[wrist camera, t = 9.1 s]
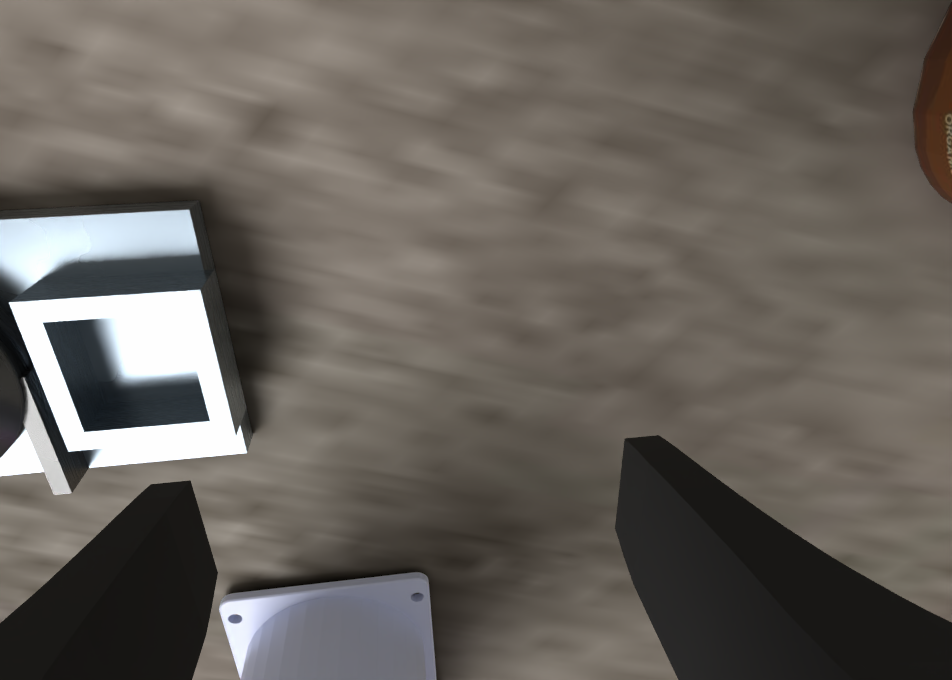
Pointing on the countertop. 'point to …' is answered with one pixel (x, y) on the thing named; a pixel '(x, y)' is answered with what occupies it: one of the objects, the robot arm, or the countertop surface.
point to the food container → (936, 111)
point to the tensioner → (113, 341)
